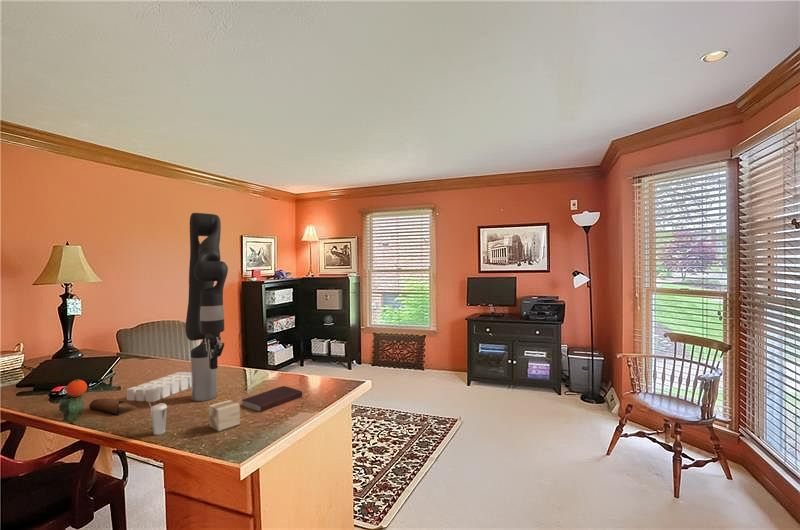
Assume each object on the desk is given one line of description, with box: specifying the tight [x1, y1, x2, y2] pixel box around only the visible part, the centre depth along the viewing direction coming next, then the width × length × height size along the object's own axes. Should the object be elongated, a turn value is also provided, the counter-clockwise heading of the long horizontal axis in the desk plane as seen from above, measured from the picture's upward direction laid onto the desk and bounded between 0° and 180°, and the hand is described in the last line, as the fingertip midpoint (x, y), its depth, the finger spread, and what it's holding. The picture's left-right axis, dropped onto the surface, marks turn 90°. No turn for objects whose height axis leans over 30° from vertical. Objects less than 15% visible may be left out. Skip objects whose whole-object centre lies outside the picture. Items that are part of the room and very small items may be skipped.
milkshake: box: [148, 402, 168, 436], centre depth 124 cm, size 4×5×10 cm
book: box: [241, 385, 303, 413], centre depth 151 cm, size 12×19×3 cm, turn 145°
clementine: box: [65, 379, 88, 398], centre depth 164 cm, size 8×7×7 cm
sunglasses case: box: [88, 398, 139, 416], centre depth 147 cm, size 18×7×7 cm, turn 65°
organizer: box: [126, 371, 191, 403], centre depth 173 cm, size 13×5×35 cm
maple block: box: [208, 399, 241, 433], centre depth 128 cm, size 7×7×7 cm
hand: (213, 368), depth 133 cm, fingers closed
